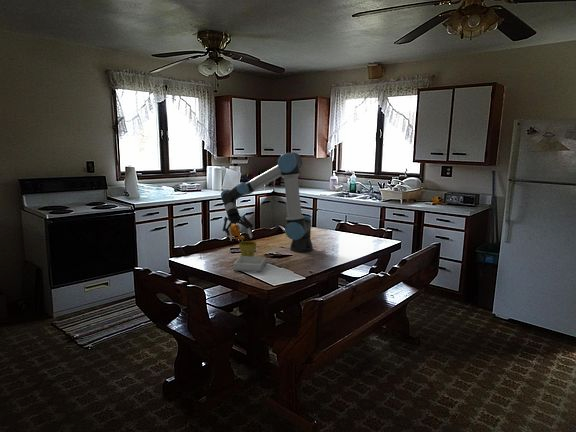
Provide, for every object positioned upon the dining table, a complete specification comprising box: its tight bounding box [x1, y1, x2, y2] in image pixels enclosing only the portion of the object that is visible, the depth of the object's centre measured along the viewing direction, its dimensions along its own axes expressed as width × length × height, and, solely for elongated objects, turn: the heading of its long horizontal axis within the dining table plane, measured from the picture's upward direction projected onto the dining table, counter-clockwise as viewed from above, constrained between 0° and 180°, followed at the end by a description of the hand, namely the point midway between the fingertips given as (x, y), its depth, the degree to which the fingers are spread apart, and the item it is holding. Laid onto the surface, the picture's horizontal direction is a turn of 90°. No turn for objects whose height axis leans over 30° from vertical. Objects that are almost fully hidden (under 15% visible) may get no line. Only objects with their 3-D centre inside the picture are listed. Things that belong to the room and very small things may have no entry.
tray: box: [232, 255, 267, 273], centre depth 230 cm, size 16×16×4 cm
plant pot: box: [238, 240, 257, 257], centre depth 247 cm, size 10×10×10 cm
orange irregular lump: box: [226, 223, 245, 242], centre depth 292 cm, size 11×7×12 cm, turn 130°
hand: (241, 238), depth 252 cm, fingers open, 13 cm apart
